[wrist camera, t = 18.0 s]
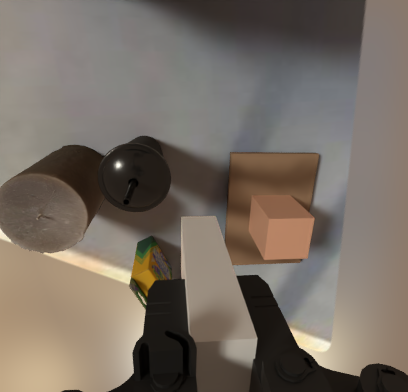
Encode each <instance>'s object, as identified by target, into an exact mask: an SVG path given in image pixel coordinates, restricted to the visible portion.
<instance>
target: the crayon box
mask: <svg viewBox="0 0 408 392" xmlns="http://www.w3.org/2000/svg"><path fill="white" fill-rule="evenodd" d="M155 280H172V268H171V266H170V265H169V263H168V261H167V260H166V258H165V257H164V255H163V253H162V252H161V250H160V248H159V247H158V245H157V243H156V242H155V240H154V238H153V237H152V236H150V237H148V238H146V239H144V240H142V241H140V242H138V243H137V249H136V254H135V260H134V265H133V270H132V275H131V280H130V285H129V287H130V289H131V290H132V291H133V293H134V294H135V295H136V297H137V298H138V300H139V301H140V302H141V304H142V305H143V307H144V308H145V309H146V305H145V304H144V303H143V302H142V299H141V298H140V296H139V295H138V292H139V293H140V295H141V296H142V297H143V298H144V300H145V302H146V303H147V294H148V290H149V288H150V287H151V286H152V284H153V283H154V281H155Z"/></svg>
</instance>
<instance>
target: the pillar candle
mask: <svg viewBox="0 0 408 392" xmlns="http://www.w3.org/2000/svg"><path fill="white" fill-rule="evenodd" d="M102 159H103V157H102V156H101V155H100V154H99V153H97V152H96V151H94V150H92V149H90V148H87V147H85V146H80V145H68V146H63V147H62V148H61V149H59V150H57V151H54V152H52V153H51V154H49V155H48V156H46V157H45V158H43V159H42V160H40V161H39V162H37V163H35V164H34V165H32V166H31V167H29V168H27V169H26V170H24V171H22V172H21V173H19V174H18V175H16V176H14V177H13V178H11V179H10V180H8V181H7V182H6V183H4V184H3V185H2V186H1V188H0V228H1V230H2V231H3V232H4V234H6V236H7V237H9V239H11V241H12V242H13V243H14V244H17V245H19V246H20V247H21V248H23V249H28V250H33V251H37V252H40V253H44V252H47V253H54V252H59V251H64V250H66V249H68V248H70V247H72V246H74V245H75V244H76V243H77V242H80V241H81V240H82V239H83V237H84V233H85V232H86V230H87V228H88V226H89V225H90V223H91V221H92V219H93V218H94V216H95V214H96V213H97V212H98V210H99V208H100V206H101V204H102V202H103V201H104V199H105V196H104V195H103V193H102V192H101V190H100V187H99V184H98V168H99V165H100V163H101V161H102Z"/></svg>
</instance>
